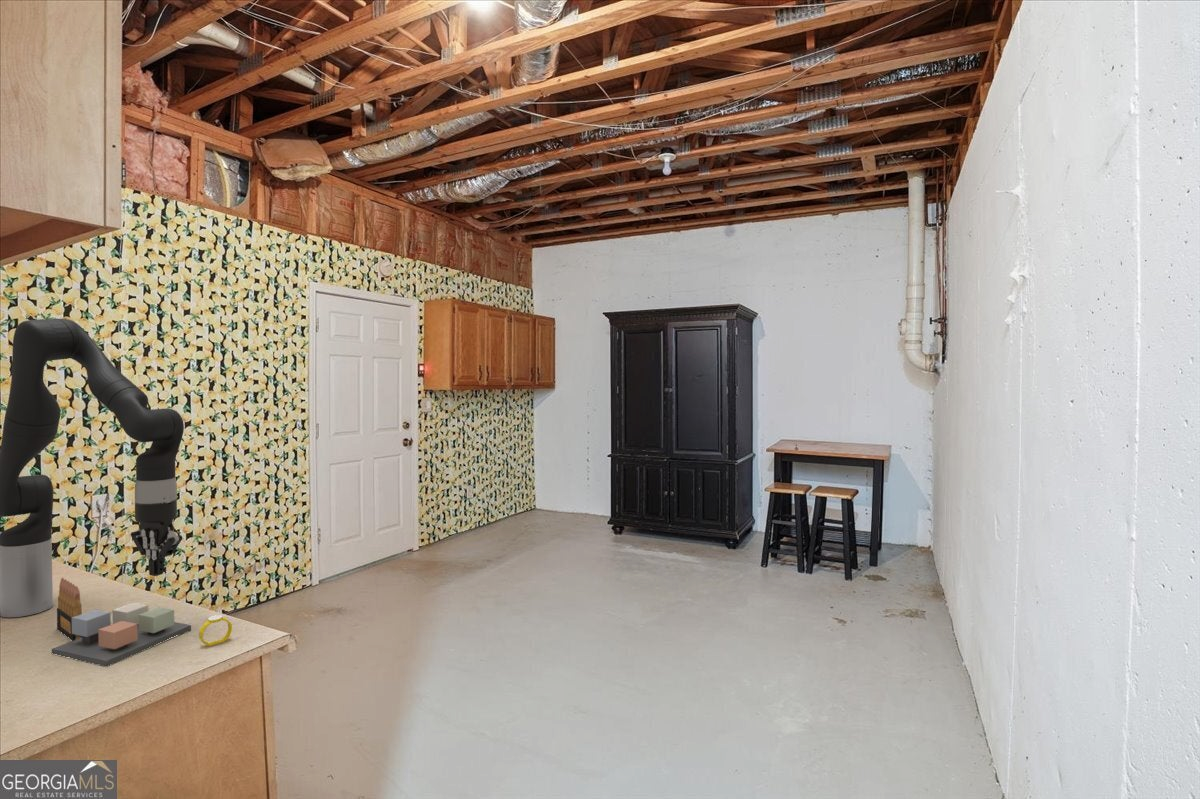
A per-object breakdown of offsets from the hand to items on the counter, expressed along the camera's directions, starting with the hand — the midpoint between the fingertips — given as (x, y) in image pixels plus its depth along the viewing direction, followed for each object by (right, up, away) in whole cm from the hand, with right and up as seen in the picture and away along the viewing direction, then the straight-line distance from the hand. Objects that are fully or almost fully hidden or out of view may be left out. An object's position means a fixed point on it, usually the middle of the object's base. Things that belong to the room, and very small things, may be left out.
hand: (156, 574), depth 132 cm
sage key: (0, -12, 0) cm, 12 cm away
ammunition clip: (-20, -14, +1) cm, 25 cm away
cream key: (-8, -12, +3) cm, 14 cm away
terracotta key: (-3, -12, -7) cm, 15 cm away
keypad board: (-5, -14, -2) cm, 15 cm away
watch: (+15, -15, -2) cm, 21 cm away
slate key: (-10, -11, -5) cm, 16 cm away
